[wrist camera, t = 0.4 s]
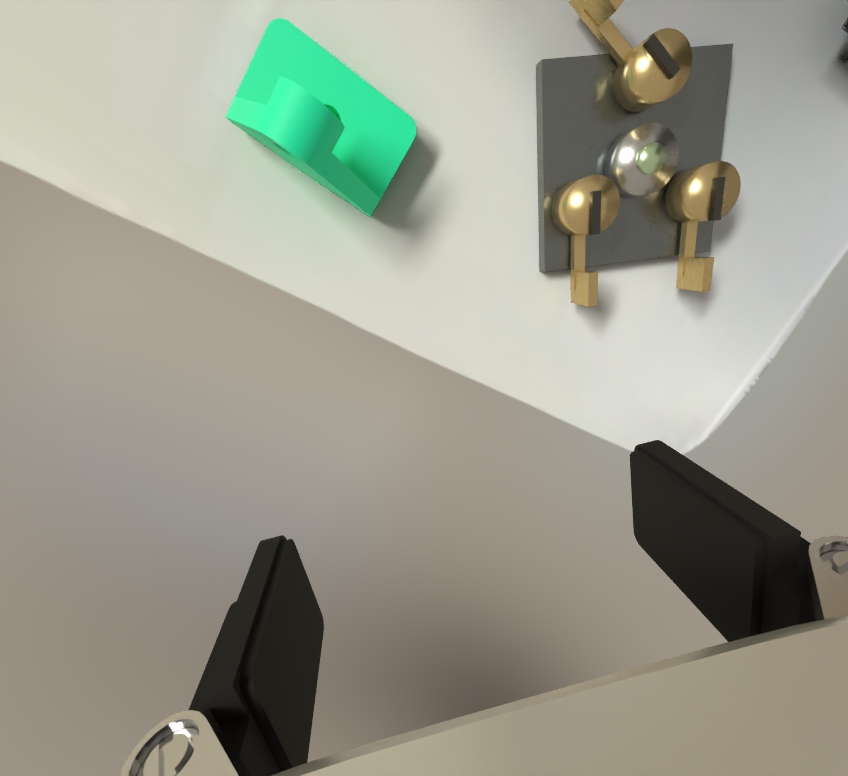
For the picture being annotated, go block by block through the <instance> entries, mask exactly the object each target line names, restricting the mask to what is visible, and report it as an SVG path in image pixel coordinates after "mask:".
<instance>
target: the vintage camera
mask: <svg viewBox="0 0 848 776" xmlns="http://www.w3.org/2000/svg"><path fill="white" fill-rule="evenodd" d="M842 29H843V30H845V31H846V32H847V33H848V18H847V20H846V21H845V23H844V25H843V26H842ZM838 58H839V59H840V60H841V61H843V62H844V63H845V62H847V61H848V52H847V53H844V54H843V55H841V56H840V57H838Z"/></svg>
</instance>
